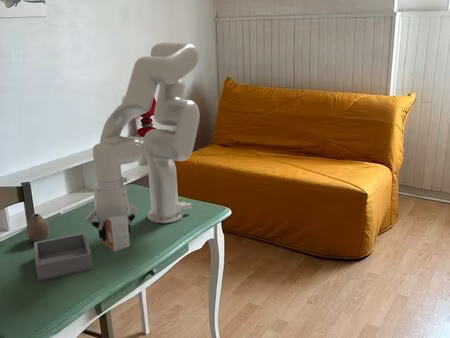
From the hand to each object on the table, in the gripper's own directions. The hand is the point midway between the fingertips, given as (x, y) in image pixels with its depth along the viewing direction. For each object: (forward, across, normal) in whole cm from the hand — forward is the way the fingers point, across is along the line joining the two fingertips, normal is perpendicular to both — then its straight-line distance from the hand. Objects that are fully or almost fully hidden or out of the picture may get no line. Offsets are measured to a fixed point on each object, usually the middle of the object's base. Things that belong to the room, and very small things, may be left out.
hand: (115, 236), depth 144 cm
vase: (+3, +22, -14) cm, 26 cm away
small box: (+3, 0, 0) cm, 3 cm away
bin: (+3, +16, +5) cm, 17 cm away
